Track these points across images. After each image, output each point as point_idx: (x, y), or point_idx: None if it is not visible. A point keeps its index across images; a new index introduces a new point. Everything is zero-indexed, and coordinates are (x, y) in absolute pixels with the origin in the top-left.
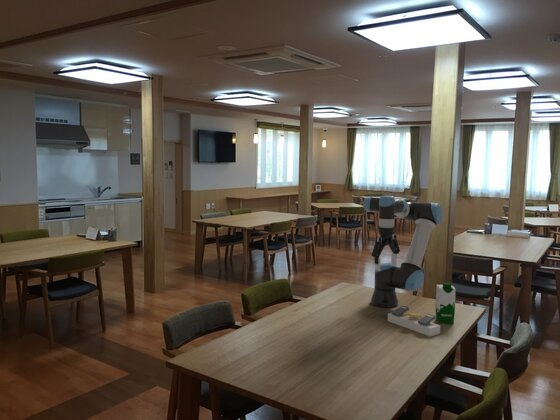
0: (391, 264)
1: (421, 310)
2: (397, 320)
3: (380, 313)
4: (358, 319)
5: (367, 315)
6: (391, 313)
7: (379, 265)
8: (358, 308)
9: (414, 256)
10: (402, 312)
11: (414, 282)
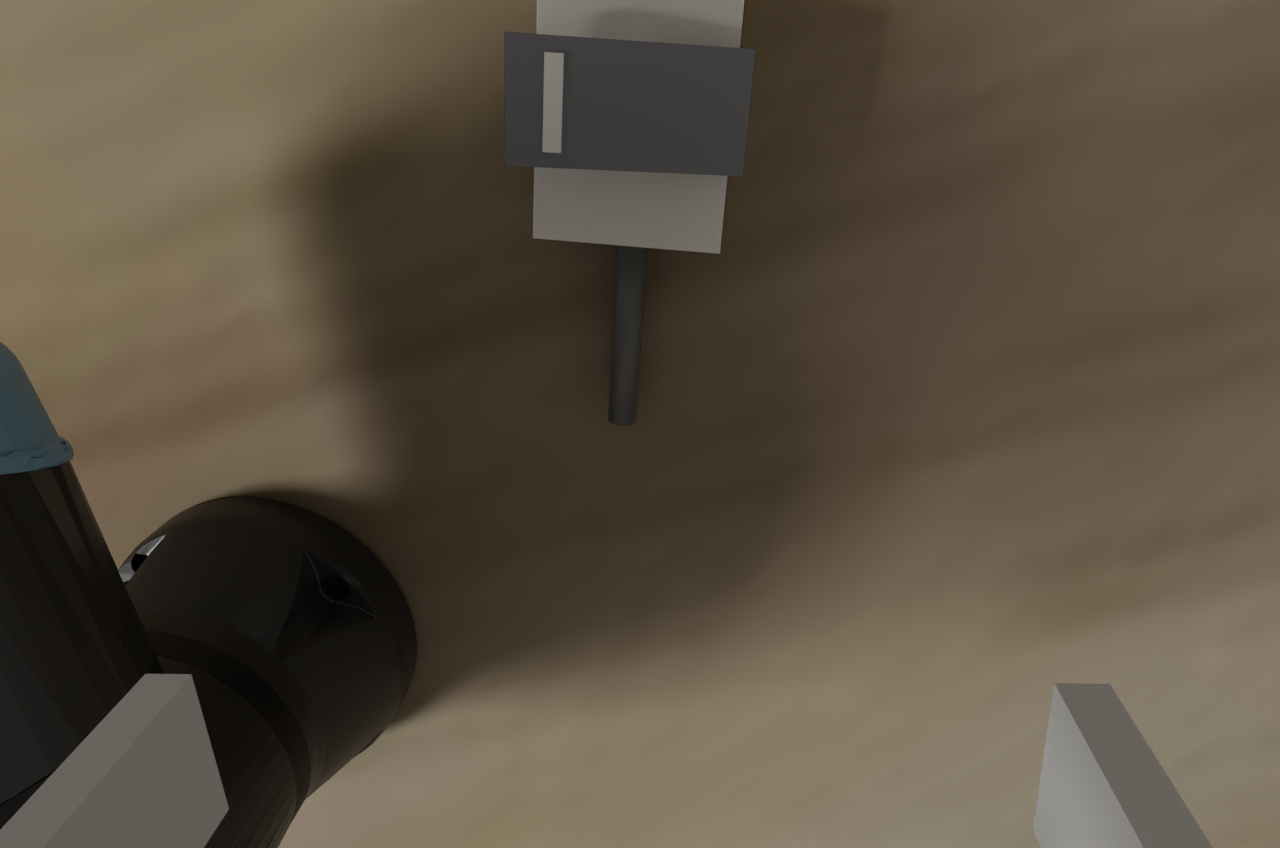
0: (206, 834)
1: (66, 231)
2: None
3: (635, 416)
4: (940, 478)
5: (743, 502)
6: (687, 219)
7: (1186, 833)
8: (630, 693)
9: None
10: (656, 42)
11: None
